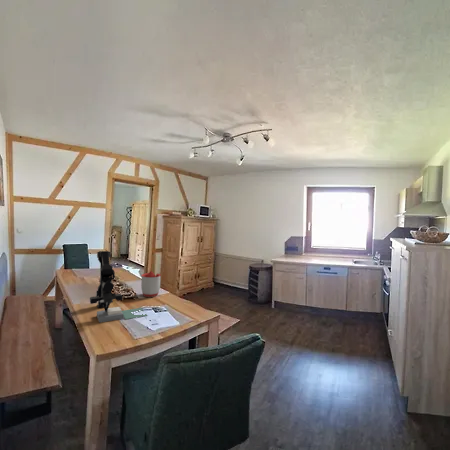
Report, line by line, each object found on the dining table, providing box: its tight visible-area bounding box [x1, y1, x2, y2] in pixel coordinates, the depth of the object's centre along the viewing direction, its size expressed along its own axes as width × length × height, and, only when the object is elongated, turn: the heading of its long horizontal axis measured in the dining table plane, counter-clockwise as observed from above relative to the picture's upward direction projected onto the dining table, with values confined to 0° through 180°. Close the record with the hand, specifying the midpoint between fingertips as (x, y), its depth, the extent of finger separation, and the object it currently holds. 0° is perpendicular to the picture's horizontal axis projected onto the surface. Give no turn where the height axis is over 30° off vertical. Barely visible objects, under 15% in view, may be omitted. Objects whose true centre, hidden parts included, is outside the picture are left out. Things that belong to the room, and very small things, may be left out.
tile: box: [107, 306, 123, 315], centre depth 178 cm, size 7×8×2 cm
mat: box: [122, 307, 148, 320], centre depth 185 cm, size 16×14×1 cm
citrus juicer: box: [140, 271, 162, 298], centre depth 228 cm, size 16×17×20 cm
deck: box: [96, 309, 124, 324], centre depth 177 cm, size 12×14×3 cm
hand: (105, 311), depth 175 cm, fingers closed
